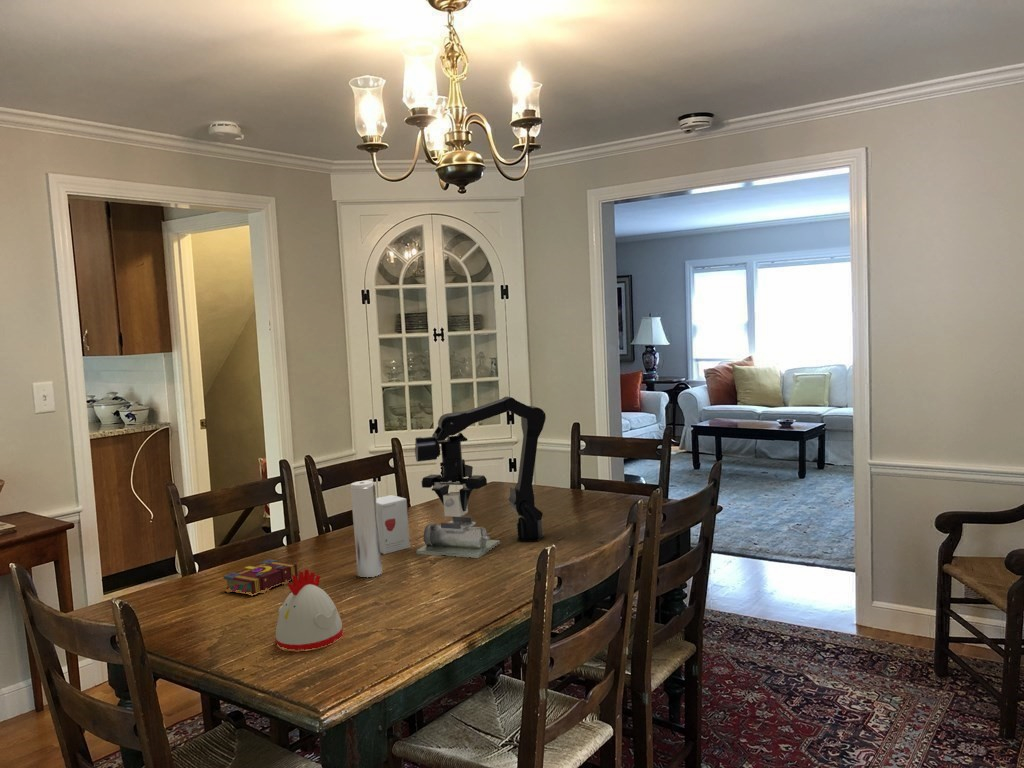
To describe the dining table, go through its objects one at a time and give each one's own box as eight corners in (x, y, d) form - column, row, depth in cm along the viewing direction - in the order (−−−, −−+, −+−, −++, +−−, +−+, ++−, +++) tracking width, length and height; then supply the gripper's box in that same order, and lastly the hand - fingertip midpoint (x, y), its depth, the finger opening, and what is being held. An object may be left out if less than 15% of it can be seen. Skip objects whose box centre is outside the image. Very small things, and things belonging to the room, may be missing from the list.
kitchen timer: (262, 645, 166) (256, 576, 164) (312, 622, 177) (306, 557, 176) (307, 657, 158) (300, 585, 157) (356, 632, 169) (350, 564, 168)
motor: (500, 543, 229) (498, 515, 228) (479, 558, 216) (477, 528, 216) (440, 540, 237) (438, 512, 237) (416, 553, 225) (414, 524, 224)
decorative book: (299, 579, 209) (297, 561, 208) (250, 600, 195) (248, 580, 195) (270, 574, 215) (268, 557, 214) (221, 594, 201) (219, 575, 201)
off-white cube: (468, 512, 227) (466, 492, 227) (456, 518, 221) (455, 497, 220) (452, 511, 229) (451, 491, 229) (441, 517, 223) (439, 497, 222)
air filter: (377, 578, 205) (369, 484, 203) (353, 578, 206) (345, 485, 204) (385, 570, 211) (378, 479, 209) (363, 570, 212) (355, 479, 210)
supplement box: (384, 555, 226) (380, 504, 224) (369, 549, 232) (364, 500, 231) (411, 547, 231) (407, 498, 230) (395, 542, 238) (391, 494, 237)
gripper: (493, 452, 228) (497, 505, 229) (437, 452, 236) (441, 503, 237) (476, 460, 218) (480, 514, 219) (418, 459, 226) (422, 512, 227)
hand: (456, 510), depth 226 cm, fingers closed on off-white cube, 5 cm apart
